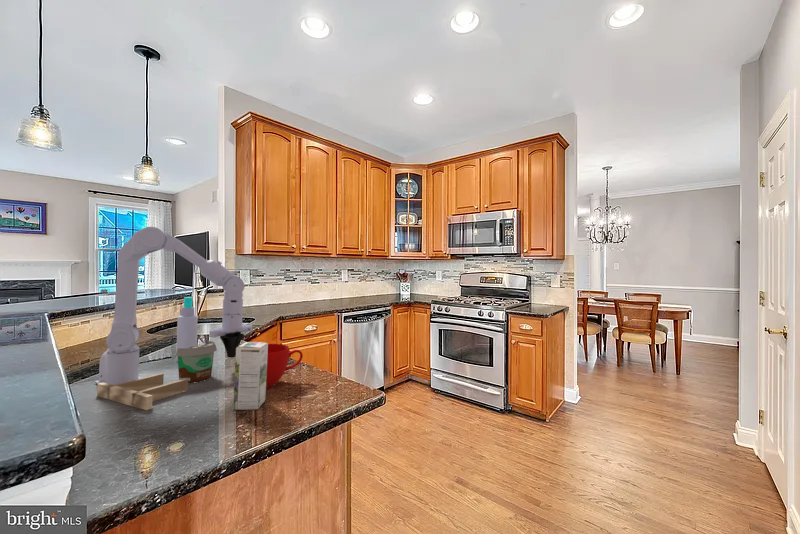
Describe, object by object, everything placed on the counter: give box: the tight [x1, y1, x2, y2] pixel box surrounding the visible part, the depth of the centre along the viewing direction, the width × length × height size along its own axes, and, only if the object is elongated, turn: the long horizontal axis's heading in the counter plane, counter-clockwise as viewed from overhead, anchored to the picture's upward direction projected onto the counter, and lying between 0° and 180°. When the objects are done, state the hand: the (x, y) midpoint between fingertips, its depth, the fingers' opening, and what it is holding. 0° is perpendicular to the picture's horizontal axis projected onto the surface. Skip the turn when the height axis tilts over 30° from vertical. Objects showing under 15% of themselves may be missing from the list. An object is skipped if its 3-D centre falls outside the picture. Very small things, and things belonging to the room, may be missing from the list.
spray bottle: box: [175, 296, 199, 362], centre depth 124 cm, size 6×6×22 cm
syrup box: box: [232, 341, 269, 411], centre depth 84 cm, size 6×6×14 cm
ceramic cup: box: [266, 343, 304, 388], centre depth 101 cm, size 13×17×10 cm
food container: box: [175, 340, 218, 384], centre depth 103 cm, size 12×6×10 cm, turn 168°
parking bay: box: [96, 372, 189, 411], centre depth 89 cm, size 20×13×3 cm, turn 66°
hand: (231, 356), depth 112 cm, fingers closed
